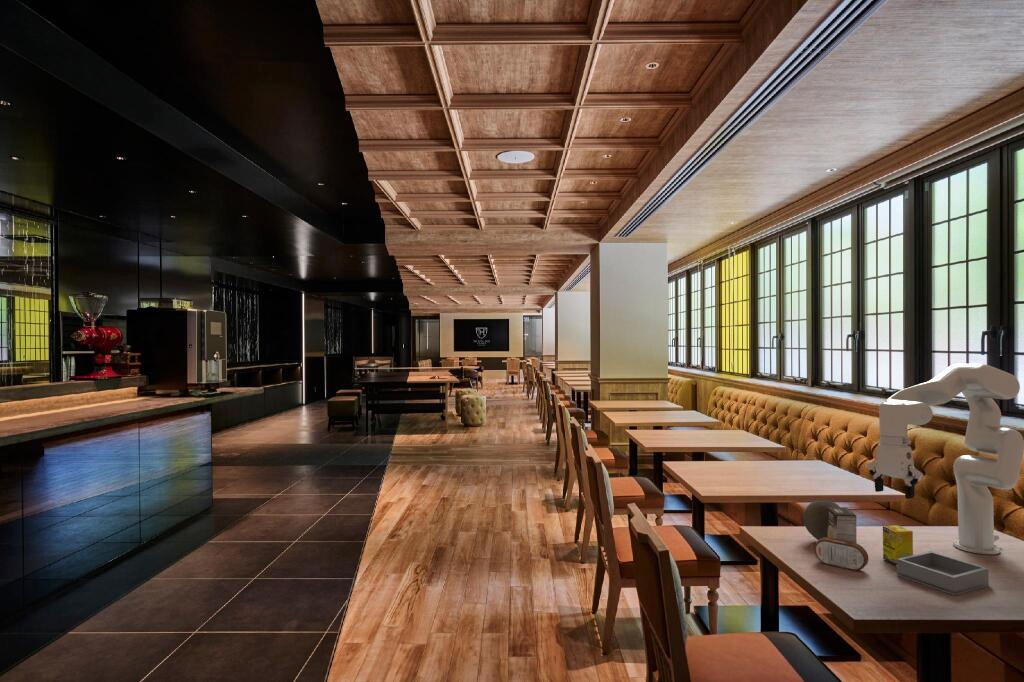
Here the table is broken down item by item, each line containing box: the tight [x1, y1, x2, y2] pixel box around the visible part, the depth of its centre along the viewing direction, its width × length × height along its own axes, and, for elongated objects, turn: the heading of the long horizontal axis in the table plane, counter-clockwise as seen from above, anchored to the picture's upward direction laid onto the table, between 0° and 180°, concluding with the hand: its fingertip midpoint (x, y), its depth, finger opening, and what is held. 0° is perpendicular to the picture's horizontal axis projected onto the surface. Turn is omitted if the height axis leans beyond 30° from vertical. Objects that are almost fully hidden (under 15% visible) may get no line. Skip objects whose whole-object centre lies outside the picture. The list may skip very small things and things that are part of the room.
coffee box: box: [827, 506, 858, 544], centre depth 192 cm, size 9×6×16 cm
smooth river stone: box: [802, 499, 841, 541], centre depth 208 cm, size 14×14×15 cm
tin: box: [813, 537, 869, 572], centre depth 186 cm, size 15×3×8 cm, turn 47°
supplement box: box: [882, 524, 914, 566], centre depth 189 cm, size 6×6×11 cm
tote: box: [896, 550, 990, 596], centre depth 174 cm, size 16×16×5 cm
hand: (894, 494), depth 188 cm, fingers open, 9 cm apart
